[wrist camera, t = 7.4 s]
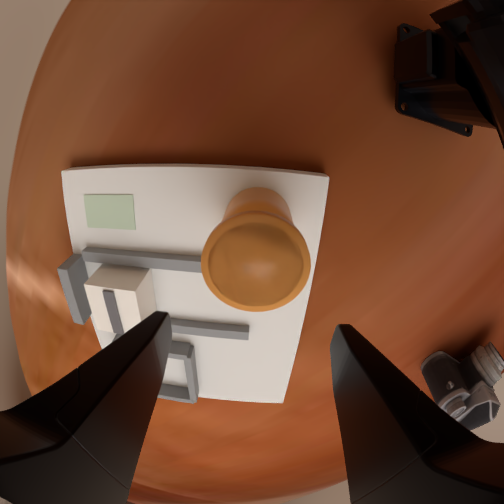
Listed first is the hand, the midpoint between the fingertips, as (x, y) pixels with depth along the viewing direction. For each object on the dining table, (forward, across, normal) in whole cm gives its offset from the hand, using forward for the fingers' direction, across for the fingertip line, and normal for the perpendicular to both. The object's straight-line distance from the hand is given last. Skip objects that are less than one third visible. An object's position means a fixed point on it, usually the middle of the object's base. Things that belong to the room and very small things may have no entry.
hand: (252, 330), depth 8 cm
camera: (+11, -27, +16) cm, 33 cm away
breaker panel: (+11, +5, +8) cm, 14 cm away
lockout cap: (+10, 0, 0) cm, 10 cm away
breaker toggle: (+10, +9, +6) cm, 15 cm away
